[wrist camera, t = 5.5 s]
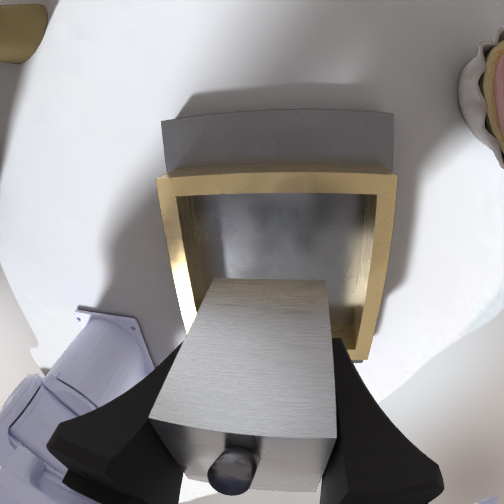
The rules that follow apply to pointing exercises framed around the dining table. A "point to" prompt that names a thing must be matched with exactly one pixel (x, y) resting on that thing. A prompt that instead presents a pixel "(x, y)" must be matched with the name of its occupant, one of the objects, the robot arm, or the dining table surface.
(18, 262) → the dining table surface
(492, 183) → the dining table surface
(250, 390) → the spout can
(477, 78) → the cupcake
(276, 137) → the wooden cabinet body
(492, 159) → the dining table surface
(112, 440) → the robot arm
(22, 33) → the pepper shaker
